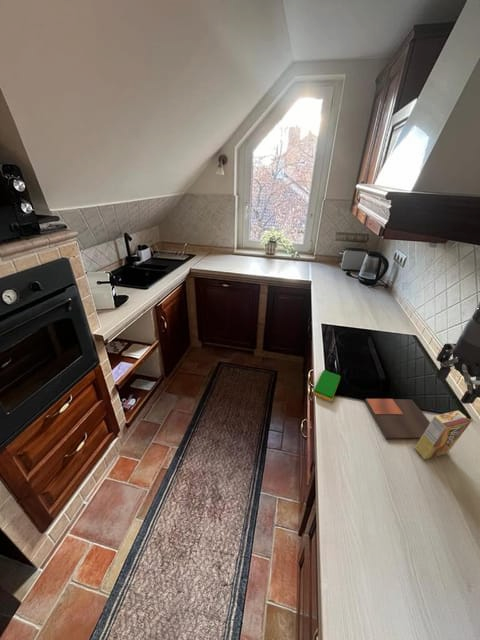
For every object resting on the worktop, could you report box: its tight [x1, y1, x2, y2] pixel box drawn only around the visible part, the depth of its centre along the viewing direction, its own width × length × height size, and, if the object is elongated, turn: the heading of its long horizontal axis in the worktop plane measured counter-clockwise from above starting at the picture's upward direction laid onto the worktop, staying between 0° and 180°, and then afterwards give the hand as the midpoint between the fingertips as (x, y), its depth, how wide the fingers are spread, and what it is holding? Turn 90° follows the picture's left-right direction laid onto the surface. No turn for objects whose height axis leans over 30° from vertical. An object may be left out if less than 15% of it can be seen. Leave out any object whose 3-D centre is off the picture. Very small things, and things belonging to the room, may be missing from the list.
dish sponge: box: [312, 369, 342, 402], centre depth 100 cm, size 7×14×2 cm, turn 149°
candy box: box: [414, 410, 472, 460], centre depth 74 cm, size 9×4×15 cm, turn 104°
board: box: [364, 398, 431, 440], centre depth 88 cm, size 18×16×1 cm
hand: (452, 389), depth 67 cm, fingers open, 8 cm apart
